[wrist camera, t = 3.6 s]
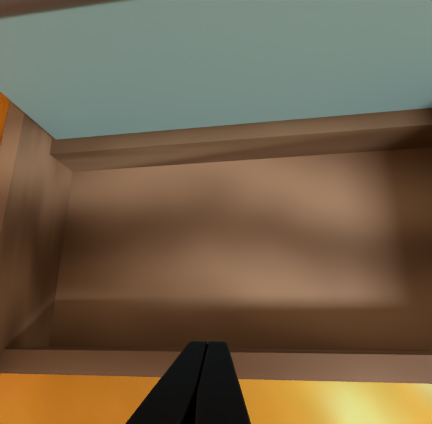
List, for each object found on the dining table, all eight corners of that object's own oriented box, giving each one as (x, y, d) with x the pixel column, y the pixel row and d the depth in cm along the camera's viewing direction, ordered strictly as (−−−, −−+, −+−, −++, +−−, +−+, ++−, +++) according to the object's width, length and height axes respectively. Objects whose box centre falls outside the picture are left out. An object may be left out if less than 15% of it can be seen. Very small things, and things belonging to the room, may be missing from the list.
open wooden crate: (504, 372, 17) (617, 394, 11) (40, 363, 21) (-49, 376, 15) (447, 122, 21) (509, 47, 15) (70, 152, 25) (9, 100, 19)
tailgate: (456, 112, 17) (668, -142, 8) (54, 145, 21) (-131, -8, 11) (449, 78, 18) (636, -196, 9) (59, 115, 21) (-113, -54, 12)
